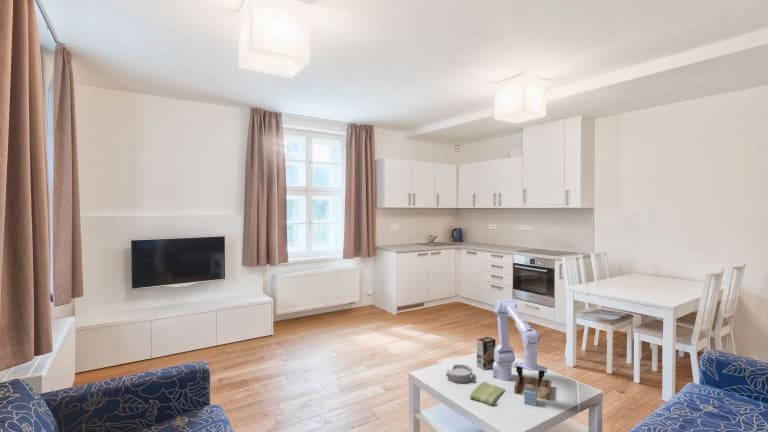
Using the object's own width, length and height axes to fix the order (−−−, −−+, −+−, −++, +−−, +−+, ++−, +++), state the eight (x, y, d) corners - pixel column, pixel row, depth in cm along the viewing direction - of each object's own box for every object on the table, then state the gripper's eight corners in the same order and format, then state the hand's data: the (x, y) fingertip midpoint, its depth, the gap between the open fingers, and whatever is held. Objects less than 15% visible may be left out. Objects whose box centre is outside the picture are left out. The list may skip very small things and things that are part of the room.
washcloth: (506, 392, 189) (506, 386, 189) (493, 408, 175) (493, 401, 175) (482, 385, 197) (481, 379, 197) (467, 399, 183) (467, 393, 183)
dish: (444, 382, 201) (444, 372, 200) (449, 370, 214) (449, 362, 213) (472, 386, 195) (472, 376, 195) (475, 374, 208) (475, 365, 208)
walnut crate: (514, 395, 185) (514, 386, 185) (517, 382, 198) (517, 374, 198) (549, 402, 178) (549, 393, 178) (551, 389, 191) (551, 380, 191)
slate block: (524, 406, 176) (524, 391, 175) (525, 401, 180) (525, 386, 180) (535, 408, 173) (535, 393, 173) (536, 403, 178) (536, 388, 178)
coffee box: (484, 370, 213) (483, 342, 212) (476, 366, 219) (476, 338, 218) (496, 366, 217) (495, 339, 217) (488, 362, 223) (488, 336, 222)
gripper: (513, 357, 176) (513, 385, 176) (546, 362, 169) (546, 391, 170) (515, 351, 182) (515, 378, 183) (547, 356, 176) (547, 384, 176)
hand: (530, 384), depth 177 cm, fingers open, 7 cm apart
